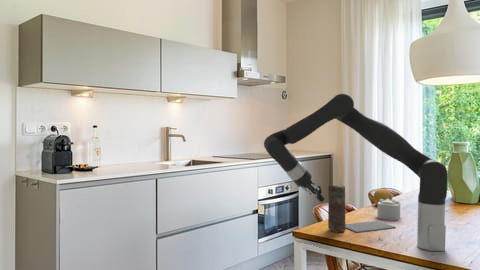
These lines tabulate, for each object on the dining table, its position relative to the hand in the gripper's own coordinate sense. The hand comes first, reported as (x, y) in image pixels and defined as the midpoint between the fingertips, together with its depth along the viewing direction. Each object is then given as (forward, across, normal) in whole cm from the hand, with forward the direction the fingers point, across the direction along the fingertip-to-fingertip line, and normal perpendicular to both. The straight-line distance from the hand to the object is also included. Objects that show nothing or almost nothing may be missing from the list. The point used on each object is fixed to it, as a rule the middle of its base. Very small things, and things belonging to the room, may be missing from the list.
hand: (322, 200), depth 164 cm
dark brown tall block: (+15, 0, +4) cm, 16 cm away
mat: (+27, 0, -8) cm, 28 cm away
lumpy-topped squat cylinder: (+45, +12, -25) cm, 53 cm away
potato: (+57, +35, -37) cm, 76 cm away
